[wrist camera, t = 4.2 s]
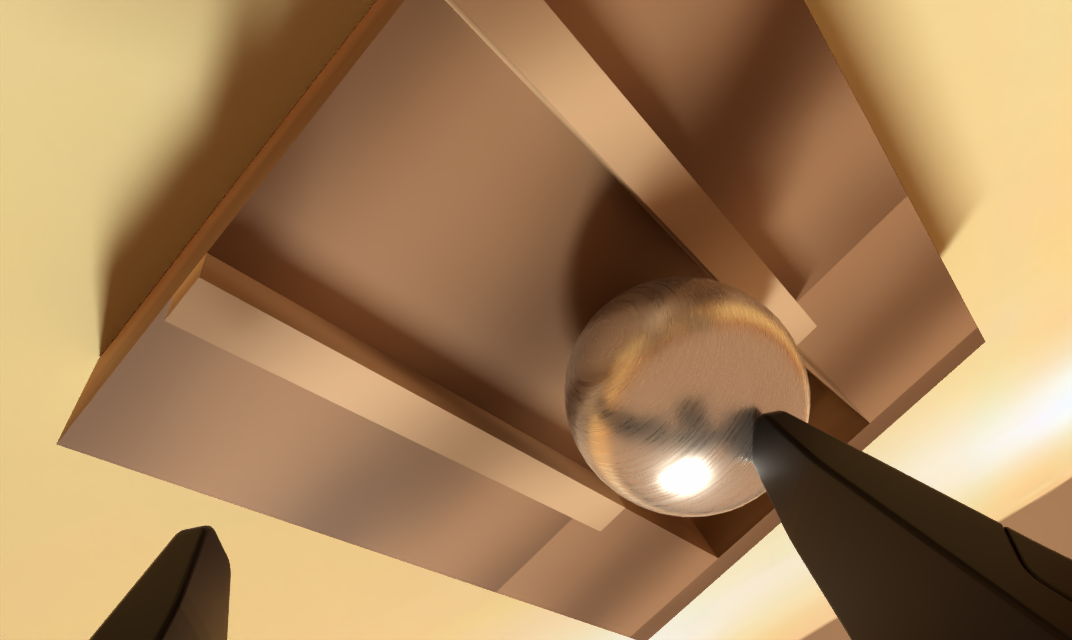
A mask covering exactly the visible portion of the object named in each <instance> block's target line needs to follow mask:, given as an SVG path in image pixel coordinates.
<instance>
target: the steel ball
mask: <svg viewBox="0 0 1072 640" xmlns="http://www.w3.org/2000/svg"><path fill="white" fill-rule="evenodd" d="M564 395H565V409H566V415H567V419H568V424H569V428H570V431H571V434H572V436H573V439H574V441H575V444H576V446H577V448H578V449H579V451H580V453H581V455H582V456H583V458H584V460H585V461H586V463H587V464H588V465H589V467H590V468H591V469H592V470H593V471H594V473H595V474H596V475H597V476H598V477H599V478H600V480H602V481H603V482H604V483H605V484H606V485H608V486H609V487H610V488H611V489H612V490H614V491H615V492H616V493H617V494H618V495H620V496H622V497H624V498H625V499H627V500H629V501H631V502H632V503H634V504H636V505H638V506H640V507H643V508H646V509H648V510H651V511H654V512H658V513H661V514H666V515H672V516H680V517H702V516H710V515H715V514H720V513H724V512H728V511H731V510H734V509H736V508H739V507H741V506H743V505H745V504H747V503H749V502H751V501H752V500H754V499H756V498H758V497H759V496H760V495H762V494H763V493H765V492H766V489H765V487H764V485H763V483H762V481H761V479H760V477H759V475H758V473H757V471H756V469H755V467H754V465H753V462H752V442H753V432H754V428H755V424H756V420H757V418H758V417H759V415H761V414H763V413H768V412H773V411H778V410H780V411H785V412H787V413H789V414H791V415H793V416H795V417H797V418H799V419H801V420H803V421H805V422H806V423H808V421H809V414H810V386H809V379H808V375H807V370H806V367H805V364H804V360H803V358H802V355H801V353H800V351H799V349H798V347H797V345H796V343H795V341H794V339H793V337H792V336H791V334H790V333H789V332H788V330H787V329H786V327H785V326H784V325H783V323H782V322H781V321H780V319H779V318H778V317H776V316H775V315H774V314H773V313H772V312H771V311H770V310H769V309H768V308H767V307H766V306H765V305H764V304H763V303H761V302H760V301H758V300H757V299H755V298H753V297H752V296H750V295H749V294H747V293H746V292H744V291H742V290H740V289H738V288H735V287H733V286H731V285H728V284H725V283H723V282H720V281H715V280H711V279H707V278H701V277H689V276H678V277H666V278H661V279H656V280H652V281H649V282H645V283H642V284H639V285H637V286H635V287H633V288H631V289H629V290H627V291H624V292H623V293H621V294H619V295H618V296H616V297H615V298H613V299H612V300H611V301H609V302H608V303H607V304H606V305H605V306H603V307H602V308H601V309H600V310H599V311H598V312H597V313H596V314H595V315H594V316H593V317H592V318H591V320H590V321H589V322H588V323H587V325H586V326H585V328H584V329H583V331H582V332H581V334H580V336H579V337H578V339H577V341H576V343H575V345H574V348H573V350H572V353H571V356H570V359H569V363H568V367H567V371H566V377H565V388H564Z"/></svg>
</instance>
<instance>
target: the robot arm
mask: <svg viewBox="0 0 1072 640" xmlns="http://www.w3.org/2000/svg"><path fill="white" fill-rule="evenodd" d="M752 462H753V465H754V467H755V469H756V471H757V473H758V475H759V477H760V479H761V481H762V483H763V485H764V487H765V489H766V491H767V494H768V496H769V498H770V500H771V502H772V504H773V506H774V508H775V510H776V512H777V514H778V516H779V518H780V520H781V523H782V525H783V527H784V529H785V530H786V532H787V534H788V536H789V538H790V540H791V542H792V543H793V545H794V547H795V549H796V550H797V552H798V554H799V555H800V557H801V558H802V560H803V562H804V563H805V565H806V567H807V568H808V570H809V571H810V573H811V575H812V576H813V578H814V580H815V581H816V583H817V584H818V586H819V588H820V589H821V591H822V593H823V594H824V596H825V597H826V599H827V601H828V602H829V604H830V606H831V607H832V609H833V610H834V612H835V614H836V615H837V617H838V619H839V620H840V622H841V623H842V625H843V627H844V628H845V630H846V631H847V633H848V635H849V636H850V638H851V640H1072V559H1070V558H1068V557H1065V556H1064V555H1061V554H1060V553H1057V552H1056V551H1054V550H1052V549H1050V548H1047V547H1046V546H1044V545H1042V544H1040V543H1038V542H1036V541H1034V540H1032V539H1030V538H1028V537H1026V536H1024V535H1022V534H1020V533H1018V532H1016V531H1014V530H1013V529H1010V528H1009V527H1004V528H1003V526H1002V524H1001V523H999V522H997V521H995V520H993V519H991V518H989V517H987V516H985V515H983V514H981V513H980V512H978V511H976V510H974V509H972V508H970V507H968V506H966V505H964V504H962V503H960V502H958V501H956V500H955V499H953V498H951V497H949V496H947V495H945V494H943V493H941V492H939V491H937V490H935V489H933V488H931V487H930V486H928V485H926V484H924V483H922V482H920V481H918V480H916V479H914V478H912V477H910V476H908V475H906V474H905V473H903V472H901V471H899V470H897V469H895V468H893V467H891V466H889V465H887V464H885V463H883V462H881V461H880V460H878V459H876V458H874V457H872V456H870V455H868V454H866V453H864V452H862V451H860V450H858V449H856V448H855V447H853V446H851V445H849V444H847V443H845V442H843V441H841V440H839V439H837V438H835V437H833V436H831V435H830V434H828V433H826V432H824V431H822V430H820V429H818V428H816V427H814V426H812V425H810V424H808V423H806V422H805V421H803V420H801V419H799V418H797V417H795V416H793V415H791V414H789V413H787V412H785V411H780V410H778V411H773V412H768V413H763V414H761V415H759V417H758V418H757V420H756V424H755V428H754V432H753V442H752ZM230 578H231V570H230V563H229V559H228V557H227V555H226V553H225V551H224V549H223V547H222V545H221V543H220V541H219V538H218V536H217V534H216V532H215V531H214V529H213V528H212V527H211V526H201V527H196V528H191V529H186V530H182V531H180V532H179V533H177V534H176V535H175V536H174V537H173V539H172V540H171V541H170V542H169V543H168V545H167V546H166V547H165V548H164V549H163V551H162V552H161V553H160V554H159V556H158V557H157V558H156V559H155V560H154V562H153V563H152V564H151V565H150V566H149V568H148V569H147V570H146V571H145V573H144V574H143V575H142V576H141V577H140V579H139V580H138V581H137V582H136V584H135V585H134V586H133V587H132V588H131V590H130V591H129V592H128V593H127V594H126V596H125V597H124V598H123V599H122V601H121V602H120V603H119V604H118V605H117V607H116V608H115V609H114V610H113V611H112V613H111V614H110V615H109V616H108V618H107V619H106V620H105V621H104V622H103V624H102V625H101V626H100V627H99V629H98V630H97V631H96V632H95V633H94V635H93V636H92V637H91V638H90V639H89V640H227V632H228V614H229V596H230Z"/></svg>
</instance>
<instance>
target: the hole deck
mask: <svg viewBox="0 0 1072 640" xmlns="http://www.w3.org/2000/svg"><path fill="white" fill-rule="evenodd" d="M678 276H689V277H701V278H707V279H711V280H715V281H720V282H723V283H725V284H728V285H731V286H733V287H735V288H738V289H740V290H742V291H744V292H746V293H747V294H749V295H750V296H752V297H753V298H755V299H757V300H758V301H760V302H761V303H763V304H764V305H765V306H766V307H767V308H768V309H769V310H770V311H771V312H772V313H773V314H774V315H775V316H776V317H778V318H779V319H780V321H781V322H782V323H783V325H784V326H785V327H786V329H787V330H788V332H789V333H790V334H791V336H792V337H793V339H794V341H795V343H796V345H797V347H798V349H799V351H800V353H801V355H802V358H803V360H804V364H805V367H806V370H807V371H808V372H809V373H808V374H807V375H808V379H809V386H810V414H809V421H808V424H810V425H812V426H814V427H816V428H818V429H820V430H822V431H824V432H826V433H828V434H830V435H831V436H833V437H835V438H837V439H839V440H841V441H843V442H845V443H847V444H849V445H851V446H853V447H855V448H856V449H858V450H860V451H862V450H863V449H865V448H866V447H867V446H868V445H869V444H870V443H871V442H872V441H874V440H875V439H876V438H877V437H878V436H879V435H880V434H881V433H883V432H884V431H885V430H886V429H887V428H888V427H889V426H891V425H892V424H893V423H894V422H895V421H896V420H897V419H898V418H900V417H901V416H902V415H903V414H904V413H905V412H906V411H907V410H909V409H910V408H911V407H912V406H913V405H914V404H915V403H917V402H918V401H919V400H920V399H921V398H922V397H923V396H924V395H926V394H927V393H928V392H929V391H930V390H931V389H932V388H933V387H935V386H936V385H937V384H938V383H939V382H940V381H941V380H943V379H944V378H945V377H946V376H947V375H948V374H949V373H950V372H952V371H953V370H954V369H955V368H956V367H957V366H958V365H960V364H961V363H962V362H963V361H964V360H965V359H966V358H967V357H969V356H970V355H971V354H972V353H973V352H974V351H975V350H976V349H978V348H979V347H980V346H981V345H982V344H983V343H984V342H985V340H984V338H983V337H982V335H981V333H980V331H979V329H978V327H977V325H976V323H975V321H974V320H973V318H972V316H971V314H970V312H969V310H968V308H967V306H966V305H965V303H964V301H963V299H962V297H961V295H960V293H959V291H958V290H957V288H956V286H955V284H954V282H953V280H952V278H951V276H950V274H949V273H948V271H947V269H946V267H945V265H944V263H943V261H942V259H941V258H940V256H939V254H938V252H937V250H936V248H935V246H934V244H933V243H932V241H931V239H930V237H929V235H928V233H927V231H926V229H925V227H924V226H923V224H922V222H921V220H920V218H919V216H918V214H917V212H916V211H915V209H914V207H913V205H912V203H911V201H910V199H909V197H908V195H907V194H906V192H905V190H904V188H903V186H902V184H901V182H900V180H899V179H898V177H897V175H896V173H895V171H894V169H893V167H892V165H891V164H890V162H889V160H888V158H887V156H886V154H885V152H884V150H883V148H882V147H881V145H880V143H879V141H878V139H877V137H876V135H875V133H874V132H873V130H872V128H871V126H870V124H869V122H868V120H867V118H866V117H865V115H864V113H863V111H862V109H861V107H860V105H859V103H858V101H857V100H856V98H855V96H854V94H853V92H852V90H851V88H850V86H849V85H848V83H847V81H846V79H845V77H844V75H843V73H842V71H841V70H840V68H839V66H838V64H837V62H836V60H835V58H834V56H833V54H832V53H831V51H830V49H829V47H828V45H827V43H826V41H825V39H824V38H823V36H822V34H821V32H820V30H819V28H818V26H817V24H816V23H815V21H814V19H813V17H812V15H811V13H810V11H809V9H808V7H807V6H806V4H805V2H804V0H376V2H375V3H374V4H373V6H372V7H371V8H370V10H369V11H368V12H367V13H366V15H365V16H364V17H363V19H362V20H361V21H360V22H359V24H358V25H357V26H356V28H355V29H354V30H353V31H352V33H351V34H350V35H349V37H348V38H347V39H346V40H345V42H344V43H343V44H342V46H341V47H340V48H339V50H338V51H337V52H336V53H335V55H334V56H333V57H332V59H331V60H330V61H329V62H328V64H327V65H326V66H325V68H324V69H323V70H322V71H321V73H320V74H319V75H318V77H317V78H316V79H315V81H314V82H313V83H312V84H311V86H310V87H309V88H308V90H307V91H306V92H305V93H304V95H303V96H302V97H301V99H300V100H299V101H298V102H297V104H296V105H295V106H294V108H293V109H292V110H291V112H290V113H289V114H288V115H287V117H286V118H285V119H284V121H283V122H282V123H281V124H280V126H279V127H278V128H277V130H276V131H275V132H274V133H273V135H272V136H271V137H270V139H269V140H268V141H267V142H266V144H265V145H264V146H263V148H262V149H261V150H260V152H259V153H258V154H257V155H256V157H255V158H254V159H253V161H252V162H251V163H250V164H249V166H248V167H247V168H246V170H245V171H244V172H243V173H242V175H241V176H240V177H239V179H238V180H237V181H236V183H235V184H234V185H233V186H232V188H231V189H230V190H229V192H228V193H227V194H226V195H225V197H224V198H223V199H222V201H221V202H220V203H219V204H218V206H217V207H216V208H215V210H214V211H213V212H212V213H211V215H210V216H209V217H208V219H207V220H206V221H205V223H204V224H203V225H202V226H201V228H200V229H199V230H198V232H197V233H196V234H195V235H194V237H193V238H192V239H191V241H190V242H189V243H188V244H187V246H186V247H185V248H184V250H183V251H182V252H181V254H180V255H179V256H178V257H177V259H176V260H175V261H174V263H173V264H172V265H171V266H170V268H169V269H168V270H167V272H166V273H165V274H164V275H163V277H162V278H161V279H160V281H159V282H158V283H157V285H156V286H155V287H154V288H153V290H152V291H151V292H150V294H149V295H148V296H147V297H146V299H145V300H144V301H143V303H142V304H141V305H140V306H139V308H138V309H137V310H136V312H135V313H134V314H133V315H132V317H131V318H130V319H129V321H128V322H127V323H126V325H125V326H124V327H123V328H122V330H121V331H120V332H119V334H118V335H117V336H116V337H115V339H114V340H113V341H112V343H111V344H110V345H109V346H108V348H107V349H106V350H105V352H104V353H103V354H102V356H101V357H100V358H99V360H98V362H97V364H96V366H95V368H94V370H93V372H92V374H91V376H90V378H89V380H88V382H87V384H86V386H85V388H84V390H83V392H82V394H81V396H80V398H79V400H78V402H77V404H76V406H75V408H74V410H73V412H72V414H71V416H70V418H69V420H68V422H67V424H66V426H65V428H64V430H63V432H62V434H61V436H60V438H59V440H58V442H57V445H60V446H63V447H66V448H69V449H72V450H75V451H78V452H81V453H84V454H87V455H90V456H93V457H96V458H99V459H102V460H105V461H108V462H111V463H114V464H116V465H119V466H122V467H125V468H128V469H131V470H134V471H137V472H140V473H143V474H146V475H149V476H152V477H155V478H158V479H161V480H164V481H167V482H170V483H173V484H176V485H179V486H182V487H185V488H188V489H191V490H194V491H197V492H200V493H203V494H206V495H208V496H211V497H214V498H217V499H220V500H223V501H226V502H229V503H232V504H235V505H238V506H241V507H244V508H247V509H250V510H253V511H256V512H259V513H262V514H265V515H268V516H271V517H274V518H277V519H280V520H283V521H286V522H289V523H292V524H295V525H298V526H300V527H303V528H306V529H309V530H312V531H315V532H318V533H321V534H324V535H327V536H330V537H333V538H336V539H339V540H342V541H345V542H348V543H351V544H354V545H357V546H360V547H363V548H366V549H369V550H372V551H375V552H378V553H381V554H384V555H387V556H390V557H393V558H395V559H398V560H401V561H404V562H407V563H410V564H413V565H416V566H419V567H422V568H425V569H428V570H431V571H434V572H437V573H440V574H443V575H446V576H449V577H452V578H455V579H458V580H461V581H464V582H467V583H470V584H473V585H476V586H479V587H482V588H485V589H487V590H490V591H493V592H496V593H499V594H502V595H505V596H508V597H511V598H514V599H517V600H520V601H523V602H526V603H529V604H532V605H535V606H538V607H541V608H544V609H547V610H550V611H553V612H556V613H559V614H562V615H565V616H568V617H571V618H574V619H577V620H579V621H582V622H585V623H588V624H591V625H594V626H597V627H600V628H603V629H606V630H609V631H612V632H615V633H618V634H621V635H624V636H627V637H630V638H633V639H636V640H648V639H650V638H651V637H652V636H653V635H654V634H655V633H656V632H658V631H659V630H660V629H661V628H662V627H663V626H664V625H665V624H667V623H668V622H669V621H670V620H671V619H672V618H673V617H675V616H676V615H677V614H678V613H679V612H680V611H681V610H682V609H684V608H685V607H686V606H687V605H688V604H689V603H690V602H691V601H693V600H694V599H695V598H696V597H697V596H698V595H699V594H701V593H702V592H703V591H704V590H705V589H706V588H707V587H708V586H710V585H711V584H712V583H713V582H714V581H715V580H716V579H717V578H719V577H720V576H721V575H722V574H723V573H724V572H725V571H727V570H728V569H729V568H730V567H731V566H732V565H733V564H734V563H736V562H737V561H738V560H739V559H740V558H741V557H742V556H743V555H745V554H746V553H747V552H748V551H749V550H750V549H751V548H753V547H754V546H755V545H756V544H757V543H758V542H759V541H760V540H762V539H763V538H764V537H765V536H766V535H767V534H768V533H770V532H771V531H772V530H773V529H774V528H775V527H776V526H777V525H779V524H780V523H781V520H780V518H779V516H778V514H777V512H776V510H775V508H774V506H773V504H772V502H771V500H770V498H769V496H768V494H767V491H766V492H765V493H763V494H762V495H760V496H759V497H758V498H756V499H754V500H752V501H751V502H749V503H747V504H745V505H743V506H741V507H739V508H736V509H734V510H731V511H728V512H724V513H720V514H715V515H710V516H702V517H680V516H672V515H666V514H661V513H658V512H654V511H651V510H648V509H646V508H643V507H640V506H638V505H636V504H634V503H632V502H631V501H629V500H627V499H625V498H624V497H622V496H620V495H618V494H617V493H616V492H615V491H614V490H612V489H611V488H610V487H609V486H608V485H606V484H605V483H604V482H603V481H602V480H600V478H599V477H598V476H597V475H596V474H595V473H594V471H593V470H592V469H591V468H590V467H589V465H588V464H587V463H586V461H585V460H584V458H583V456H582V455H581V453H580V451H579V449H578V448H577V446H576V444H575V441H574V439H573V436H572V434H571V431H570V428H569V424H568V419H567V415H566V409H565V395H564V388H565V377H566V371H567V367H568V363H569V359H570V356H571V353H572V350H573V348H574V345H575V343H576V341H577V339H578V337H579V336H580V334H581V332H582V331H583V329H584V328H585V326H586V325H587V323H588V322H589V321H590V320H591V318H592V317H593V316H594V315H595V314H596V313H597V312H598V311H599V310H600V309H601V308H602V307H603V306H605V305H606V304H607V303H608V302H609V301H611V300H612V299H613V298H615V297H616V296H618V295H619V294H621V293H623V292H624V291H627V290H629V289H631V288H633V287H635V286H637V285H639V284H642V283H645V282H649V281H652V280H656V279H661V278H666V277H678Z"/></svg>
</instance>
